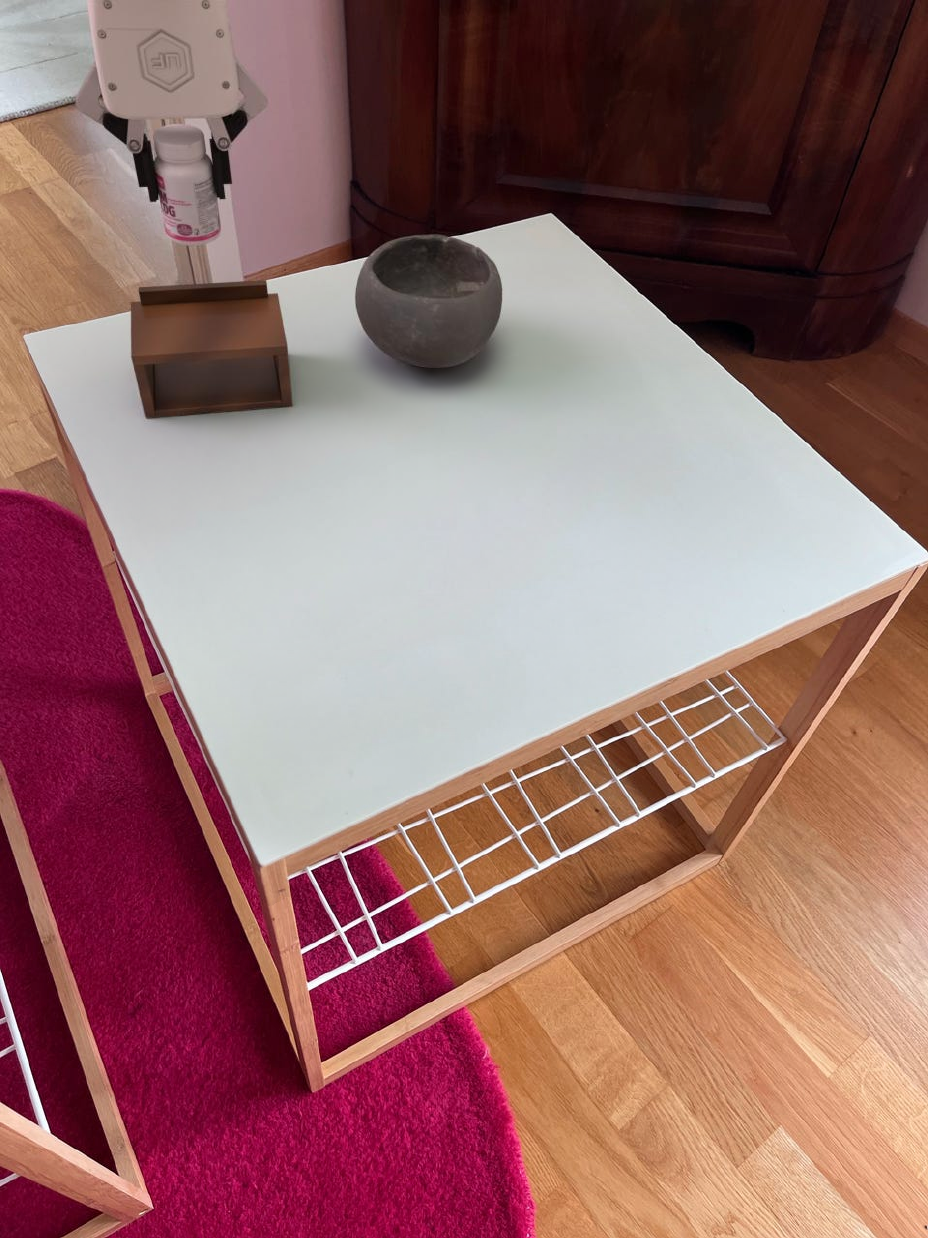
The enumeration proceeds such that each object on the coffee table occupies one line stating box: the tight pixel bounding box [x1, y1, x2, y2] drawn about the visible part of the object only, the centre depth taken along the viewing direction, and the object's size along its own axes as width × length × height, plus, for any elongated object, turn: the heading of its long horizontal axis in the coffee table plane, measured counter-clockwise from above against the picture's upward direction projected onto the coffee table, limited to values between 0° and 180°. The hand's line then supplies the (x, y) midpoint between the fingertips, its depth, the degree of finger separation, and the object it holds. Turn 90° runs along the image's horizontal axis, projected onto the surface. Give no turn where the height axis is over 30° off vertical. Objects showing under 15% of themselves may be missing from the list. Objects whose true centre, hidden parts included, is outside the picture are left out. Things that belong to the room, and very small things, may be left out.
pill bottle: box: [152, 123, 222, 247], centre depth 80 cm, size 5×5×8 cm
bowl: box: [354, 234, 503, 369], centre depth 97 cm, size 15×15×10 cm
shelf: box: [130, 279, 293, 419], centre depth 92 cm, size 14×9×8 cm, turn 103°
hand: (187, 190), depth 80 cm, fingers closed on pill bottle, 4 cm apart
